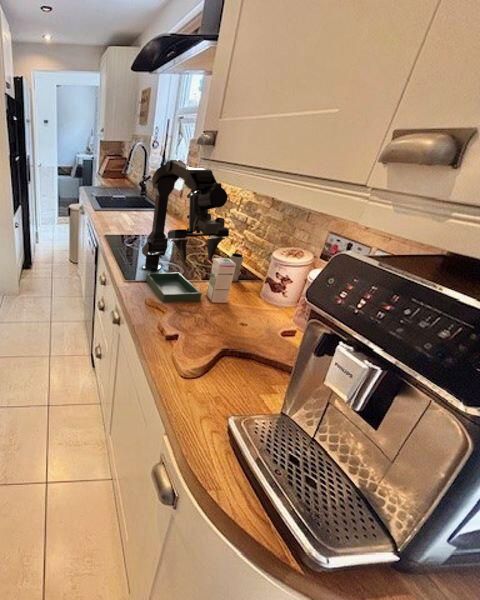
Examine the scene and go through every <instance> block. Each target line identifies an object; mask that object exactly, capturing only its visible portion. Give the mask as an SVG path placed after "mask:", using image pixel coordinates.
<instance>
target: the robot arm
mask: <svg viewBox="0 0 480 600" xmlns="http://www.w3.org/2000/svg"><path fill="white" fill-rule="evenodd" d="M215 177H216V176H215V175H214V173H213V170H212V169H209V168H195V167H194V166H192V165H190V164H188V163H185V162H183V160H181V159H169V160H167V161H166V162H165V163H164V164H163V165H162V166H160V167H158V168H157V169H156V171H154V173H153V175H152V178H151V182H152V189H153V191H154V193H155V200H154V210H153V219H152V220H153V221H152V227H151V231H150V233H149V235H148V236H147V238H146V242H145V244H144V245H143V246H142V247H141V248H142V249H141V254H142V255H143V256H144V257H145V261H144V262H145V263H144V265H143V266H142V267H141V269H142V270H147V271H150V272H158V271H159V270H160V269H161V267H162V266H161V265H160V258H161V256H163V257H164V256H165V255H166V252H167V250H168V242H169V240H170V241H171V242H173V243H174V245H175V247H176V249H177V250H178V253H179V255H180V257H181V260H182V262H187V244H188V241H189V239H186V238H188V237H189V238H191V237H209V238H206V242H207V244H206V245H207V257H208V260H209V261H212V260H213V259H214V258H213V257H214V255H215V252H216V250H217V248H218V246H219V244H220V243H221V242H222V241H223V240H226V238H228V237H230V230H229V228H228V227H225V225H226V223H225V222H226V220H225V219H226V218H224V217H216V218H215V219H214V218H213V219H212V213H209V210H212V209H219V208H222V207H224V206H225V205H226V204H227V201H228V193H227V191H226V190H225V188H223V187H222V183H221V182H220V183H219V182H218V181H217V180H216V178H215ZM179 179H182V180H183V181H184V182H183V184H184V185H185V186H186V187H187V188H188V189H189V190H190V192H188V194H187V195H186V198H187V199H189V203H188V204H189V205H188V208H189V209H188V215H186V219H187V220H188V227H187V228H186V229H182V228H181V229H169V230H168V232H167V236H166V234H165V227H166V219H167V212H168V204H169V197H170V195H171V193H172V192H173V190H174V189H175V185H176V183H177V181H178V180H179Z"/></svg>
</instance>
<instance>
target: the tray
mask: <svg viewBox="0 0 480 600" xmlns="http://www.w3.org/2000/svg"><path fill="white" fill-rule="evenodd" d="M145 281H146V283H147V284H148V286H149V287H150V288H151V290H153V292H154V293H155V295H156V296H157V297H158V298H159V299H160V301H161V302H162V303H180V302H181V303H182V302H183V303H185V302H200V301H201V299H202V292H201V291H200V290H199V288H197V287H195V285H194V284H192V283H191V282H190V281H189V280H188V279H187V278H186V277H184V275H183V274H182V273H181V272H179V271H178V272H177V271H175V272H150V273H149V272H148V273H146V275H145Z"/></svg>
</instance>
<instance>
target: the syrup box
mask: <svg viewBox="0 0 480 600" xmlns="http://www.w3.org/2000/svg"><path fill="white" fill-rule="evenodd" d="M211 266H212V267H211V271H210V276H209V281H208V286H207V289H206V290H207V291H206V297H207V298H208V300H209V301H210V302H211V303H216V304H217V303H218V304H219V303H222V304H226V303H228V300H229V297H230V293H231V288H232V283H233V281H232V280H233V275H234V271H235V267H236V264H235V263H234V262H233V261H232V260H231V259H230V258H228V257H214V258H213V261H212V265H211Z"/></svg>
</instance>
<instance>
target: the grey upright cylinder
mask: <svg viewBox="0 0 480 600" xmlns="http://www.w3.org/2000/svg"><path fill="white" fill-rule="evenodd" d="M244 257H245V256H244V254H242V253H231V255H230V258H229V259H231V260H232V261H233V262H234V263H235V264H236V267H235V271H234V275H233V280H232V282H237V281H239V277H240V273H241V269H242V265H243V262H244Z"/></svg>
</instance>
